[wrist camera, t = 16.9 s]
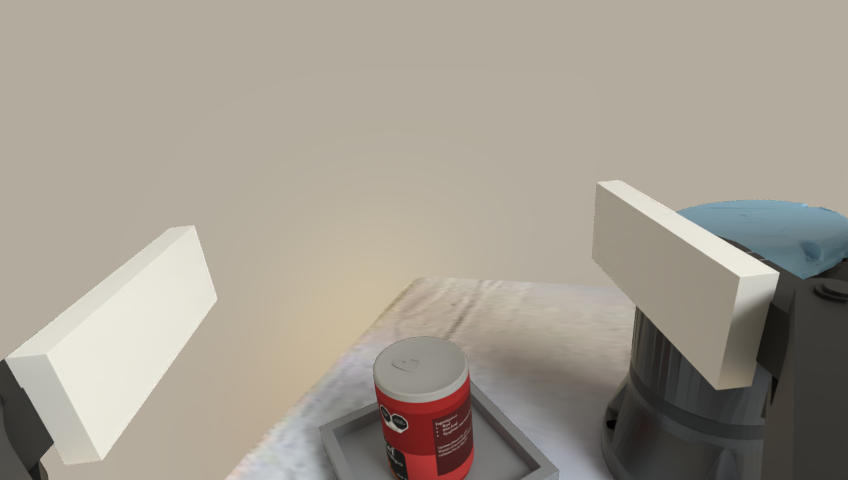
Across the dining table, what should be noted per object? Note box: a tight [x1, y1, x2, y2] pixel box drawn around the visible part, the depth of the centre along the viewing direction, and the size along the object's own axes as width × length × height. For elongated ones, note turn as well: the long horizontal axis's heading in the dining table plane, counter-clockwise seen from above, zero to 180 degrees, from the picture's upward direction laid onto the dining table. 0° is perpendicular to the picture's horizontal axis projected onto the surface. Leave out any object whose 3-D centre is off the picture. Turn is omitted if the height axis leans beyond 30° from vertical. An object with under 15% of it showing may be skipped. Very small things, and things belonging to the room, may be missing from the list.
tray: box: [319, 380, 559, 480], centre depth 41 cm, size 16×16×2 cm
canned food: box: [373, 337, 474, 480], centre depth 39 cm, size 8×8×11 cm
